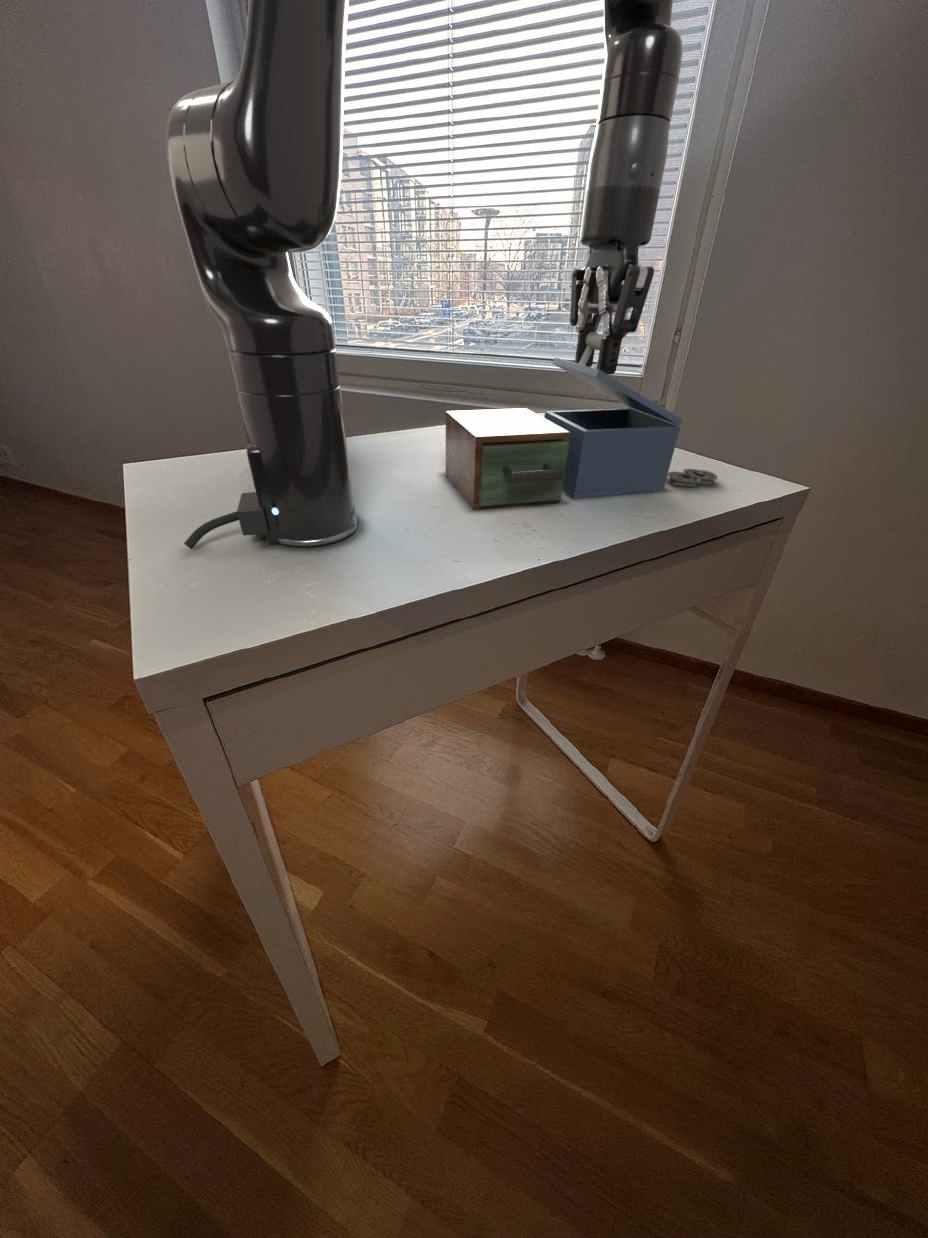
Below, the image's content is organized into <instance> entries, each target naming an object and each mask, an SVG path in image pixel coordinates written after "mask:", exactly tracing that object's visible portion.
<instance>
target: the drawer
mask: <svg viewBox="0 0 928 1238" xmlns="http://www.w3.org/2000/svg"><path fill="white" fill-rule="evenodd" d="M568 446H569V443H568V442H566V441H554V440H543V441H525V442H507V443H488V444H482V445H481V451H480V475H479V499H478V503H479V504H480V505H481V506H492V505H503V504H515V503H526V502H537V501H549V500H560V501H561V500H562V493H563V489H562V488H563V481H564V474H565V467H566V460H567V453H568Z"/></svg>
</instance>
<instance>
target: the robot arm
mask: <svg viewBox="0 0 928 1238" xmlns="http://www.w3.org/2000/svg"><path fill="white" fill-rule="evenodd" d="M349 2H350V0H248V5H247V19H246V21H247V22H246V32H245V39H244V47H243V52H242V53H243V54H242V59H241V64H240V68H239V71H238V74H237V76H236V78H235V80H230V81H227V82H223V83H219V84H215V85H211V86H207V87H203V88H200V89H196V90H193V91H190V92H189V93H186V94H184V95H183V96H181V97H180V98H179V99H178V100H177V101H176V102H175V103H174V105H173V106H172V109H171V111H170V113H169V116H168V119H167V124H166V133H165V134H166V135H165V139H166V141H165V144H166V157H167V165H168V172H169V176H170V177H169V178H170V180H171V185H172V191H173V194H174V198H175V202H176V207H177V210H178V213H179V217H180V221H181V224H182V227H183V231H184V234H185V238H186V243H187V245H188V248H189V251H190V255H191V259H192V262H193V266H194V269H195V273H196V277H197V280H198V284H199V288H200V290H201V293H202V296H203V299H204V301H205V303H206V306H207V308H208V309H209V311H210V313H211V315H212V316H213V318H214V320H215V321H216V323H217V325H218V326H219V329H220V331H221V334H222V337H223V342H224V345H225V349H227V350H226V353H227V357H228V362H229V367H230V371H231V375H232V377H233V383H234V387H235V391H236V396H237V401H238V405H239V409H240V413H241V417H242V422H243V426H244V430H245V434H246V439H247V444H246V445H247V446H246V451H245V453H246V457H247V460H248V461H247V462H248V465H249V469H250V474H251V478H252V482H253V486H254V490H255V491H250V492H241V495H240V498H239V502H238V505H237V509H236V511H233V512H230V513H226V514H224V515H221V516H218V517H216V518H213V519H211V520H209V521H207V522H204V523H203V524H201V525H200V526H199V527H197V528H196V529H195V530H194V531H193V532H192V533H191V534H190V535H189V536H188V538H187V539H186V540H185V541H184V542H183V544H184V545H185V546H186V547H187V548H189V549H190V550H193V549H194V547H195V546H196V545H197V544H198V543H199V541H200V540H201V539H202V538H204V536H206V535H207V534H208V533H210V532H212V531H214V530H216V529H217V528H220V527H222V526H225V525H228V524H231V523H235V522H236V521H238V522H239V526H240V530H241V533H242V536H254V535H265V538H266V541H267V544H269V545H272V544H282V545H285V546H292V547H318V546H324V545H329V544H332V543H336V542H338V541H342V540H344V539H346V538H347V537H349V536H351V535H352V534H353V533H354V532H355V531H356V530H357V528H358V520H357V516H356V507H355V503H354V494H353V486H352V485H353V484H352V475H351V467H350V459H349V452H348V451H349V450H348V441H347V434H346V425H345V417H344V415H345V414H344V408H343V407H344V406H343V399H342V390H341V389H342V388H341V382H340V373H339V365H338V356H337V349H336V339H335V331H334V324H333V321H332V318H331V316H330V315H329V313H328V312H327V311H326V310H325V309H324V308H322V307H321V306H319V305H318V304H316V303H315V302H313V301H312V300H311V299H309V298H308V297H307V296H306V295H305V294H304V293H303V291H302V289H300V287H299V285H298V284H297V283H296V280H295V278H294V276H293V271H292V268H291V262H290V259H289V253H300V252H301V253H302V252H308V251H311V250H313V249H316V248H317V247H320V245H321V244H323V243H324V241H325V240H326V238H327V237H328V235H329V234H330V233H331V230H332V228H333V225H334V223H335V220H336V216H337V212H338V207H339V201H340V200H339V199H340V194H341V193H340V192H341V183H342V170H343V169H342V167H343V146H344V145H343V141H344V139H343V138H344V105H345V103H344V102H345V101H344V100H345V70H346V69H345V67H346V46H347V45H346V44H347V43H346V42H347V31H348V29H347V28H348V18H349V17H348V15H349V4H350V3H349ZM673 3H674V0H603V43H604V67H603V73H602V80H601V86H600V95H599V103H598V111H597V118H596V127H595V131H594V136H593V137H594V138H593V142H592V145H591V151H590V155H589V161H588V168H587V175H586V176H587V177H586V186H585V191H584V200H583V202H584V203H583V209H582V217H581V224H580V225H581V226H580V233H579V243H580V244H581V245H582V246H585V247H589V252H588V256H587V260H586V263H585V267H583V268H574V269H572V273H571V288H570V289H571V291H570V314H569V315H570V317H569V324H570V326H571V327H575V332H576V334H578V337H577V343H576V350H575V357H574V363H577V364H578V363H579V361H580V359H581V357H582V355H583V353H584V351H585V349H586V347H587V346H586V343H585V340H586V337H587V335H588V334H589V333H590V332H598V329H599V326H600V323H601V320H602V333H603V337H604V338H602V340H601V346H600V350H599V352H598V359H597V361H598V364H597V369H598V370H600V371H602V372H604V373H605V374H607V375H609V376H611V375H614V374H615V373H616V371H617V368H618V363H619V358H620V353H621V347H622V341H623V339H624V338H625V337H626V336H627V335H628V334H629V333H635V332H636V331H637V329H638V327H639V323H640V319H641V317H642V314H643V310H644V306H645V303H646V300H647V298H648V294H649V291H650V289H651V285H652V281H653V278H654V275H655V268H654V267H653V266H643V265H641V264H639V247H644V246H646V245H648V244H649V243H650V241H651V238H652V234H653V229H654V224H655V219H656V214H657V208H658V202H659V199H660V194H661V193H660V192H661V189H662V188H661V187H662V183H663V177H664V172H665V166H666V161H667V155H668V147H669V134H670V128H671V121H672V117H673V111H674V105H675V100H676V96H677V91H678V85H679V81H680V75H681V73H680V72H681V68H682V60H683V49H684V48H683V40H682V37H681V35H680V33H679V32H678V31H677V30H676V29H675V28H674V27H672V15H673ZM630 312H631V313H630ZM629 313H630V316H629V319H628V314H629ZM595 351H596V349H593V351H592V353H591V355H590V357H589V359H588V361H587V363H586V365H585V366H588V367H591V368H592V366H593V363H594V356H595Z"/></svg>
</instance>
